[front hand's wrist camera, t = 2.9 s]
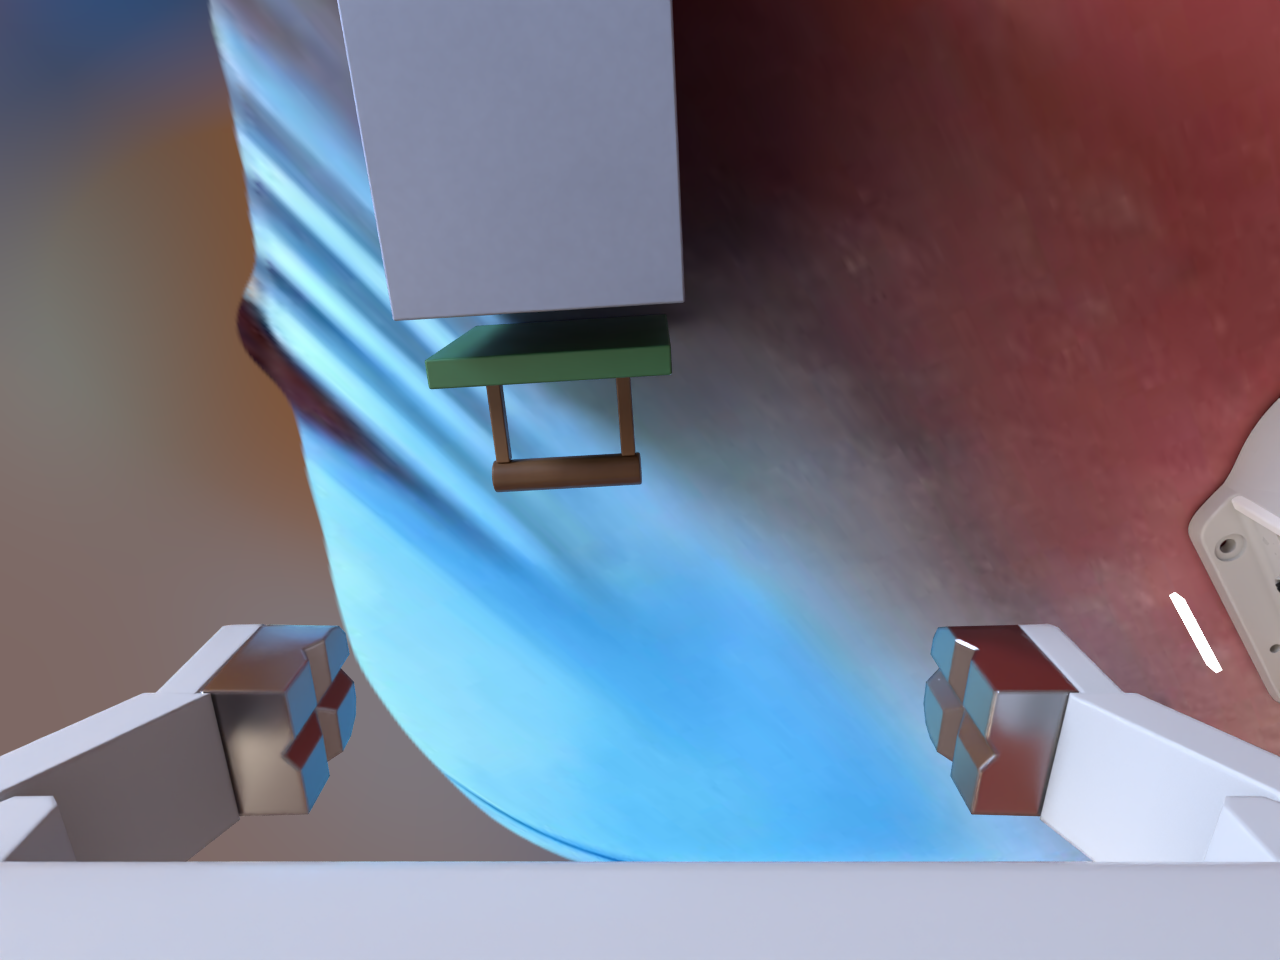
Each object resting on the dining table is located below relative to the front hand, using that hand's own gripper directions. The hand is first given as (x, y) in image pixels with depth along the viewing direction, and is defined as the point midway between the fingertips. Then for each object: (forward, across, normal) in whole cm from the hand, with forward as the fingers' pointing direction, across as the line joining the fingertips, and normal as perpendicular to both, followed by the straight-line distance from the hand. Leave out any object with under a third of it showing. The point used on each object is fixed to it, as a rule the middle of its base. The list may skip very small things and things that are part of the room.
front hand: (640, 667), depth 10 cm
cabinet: (+31, +4, -12) cm, 33 cm away
